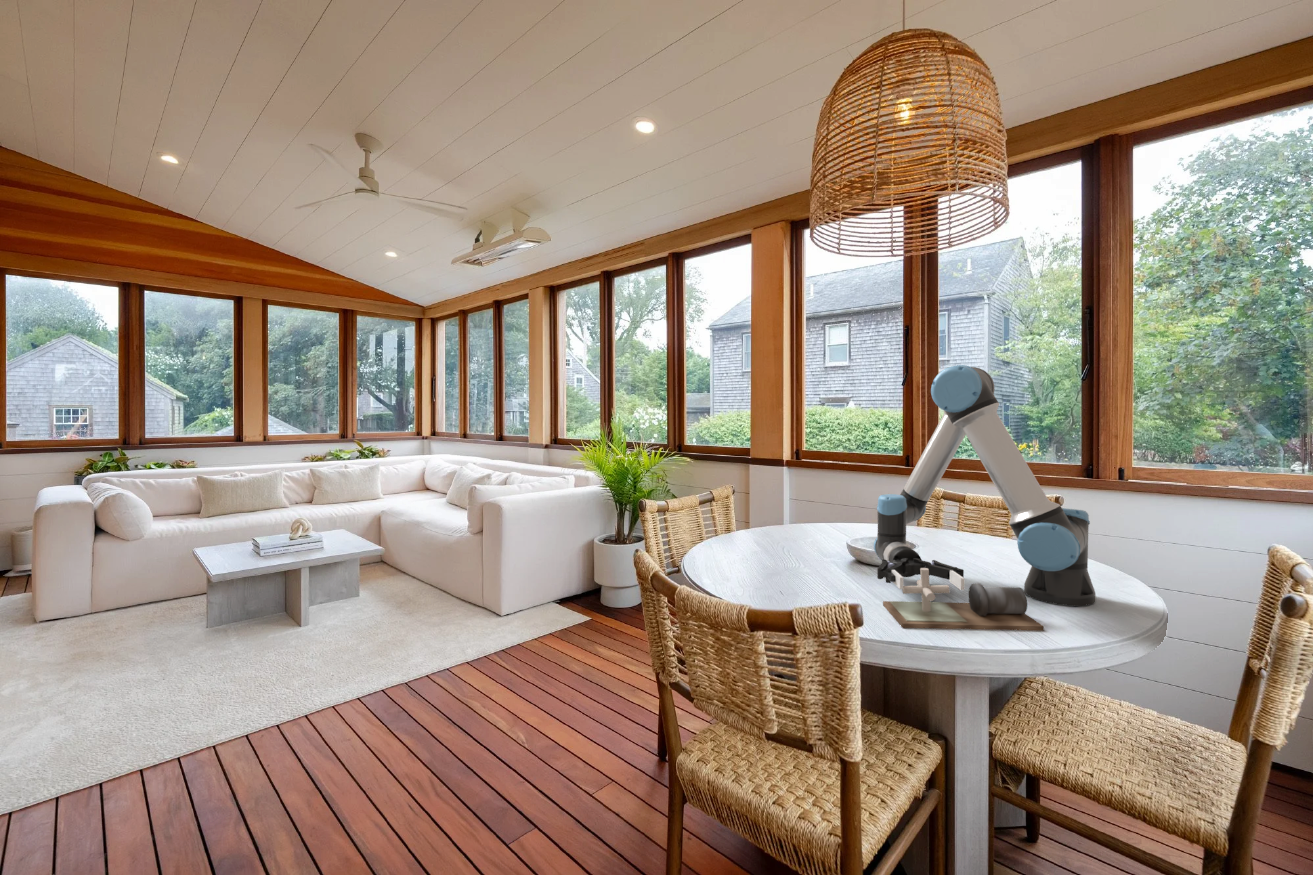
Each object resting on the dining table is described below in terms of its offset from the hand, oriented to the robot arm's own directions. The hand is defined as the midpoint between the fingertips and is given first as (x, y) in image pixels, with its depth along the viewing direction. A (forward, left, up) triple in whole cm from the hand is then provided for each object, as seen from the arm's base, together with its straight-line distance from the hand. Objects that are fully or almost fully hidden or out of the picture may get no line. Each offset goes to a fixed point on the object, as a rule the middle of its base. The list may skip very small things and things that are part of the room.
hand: (932, 583), depth 136 cm
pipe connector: (+1, -3, -8) cm, 8 cm away
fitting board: (-6, -5, -9) cm, 12 cm away
